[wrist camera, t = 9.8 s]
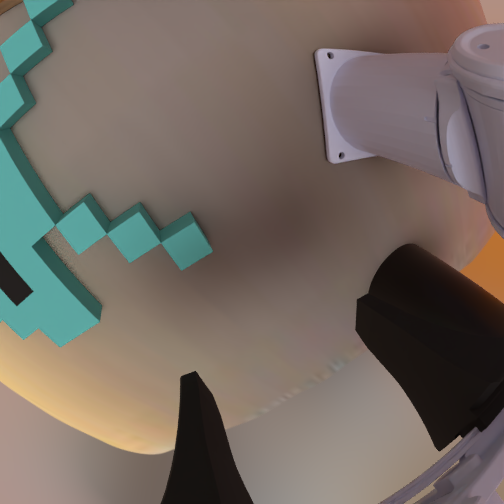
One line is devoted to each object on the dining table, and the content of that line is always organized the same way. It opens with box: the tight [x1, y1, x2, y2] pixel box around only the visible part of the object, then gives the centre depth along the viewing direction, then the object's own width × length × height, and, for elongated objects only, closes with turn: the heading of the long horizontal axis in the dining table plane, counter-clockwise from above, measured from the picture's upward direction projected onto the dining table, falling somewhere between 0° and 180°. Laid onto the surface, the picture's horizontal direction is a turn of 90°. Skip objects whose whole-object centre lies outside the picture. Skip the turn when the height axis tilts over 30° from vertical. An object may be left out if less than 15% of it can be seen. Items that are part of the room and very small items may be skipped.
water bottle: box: [369, 244, 504, 338], centre depth 18 cm, size 10×10×23 cm
